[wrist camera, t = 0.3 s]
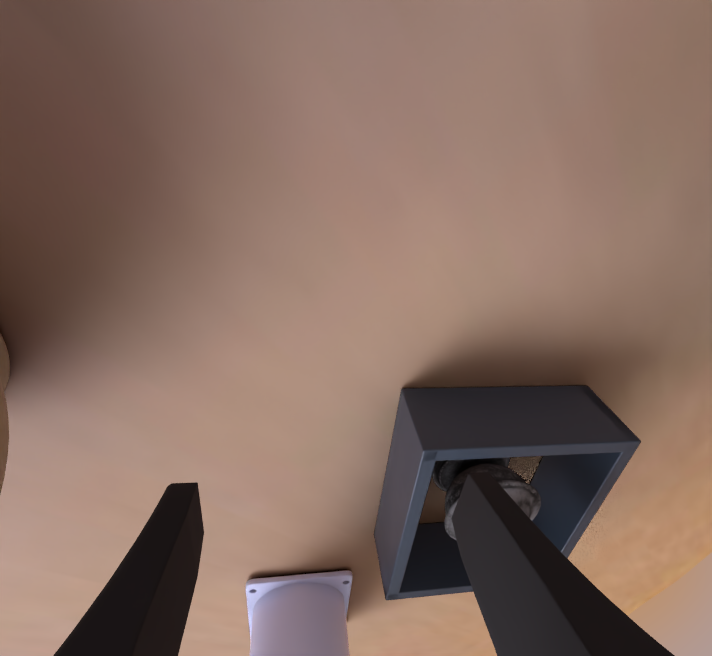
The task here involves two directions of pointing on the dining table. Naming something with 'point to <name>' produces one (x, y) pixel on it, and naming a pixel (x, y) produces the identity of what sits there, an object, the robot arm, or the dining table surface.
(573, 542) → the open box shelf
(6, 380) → the planter bowl
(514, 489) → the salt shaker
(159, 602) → the robot arm
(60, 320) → the dining table surface
